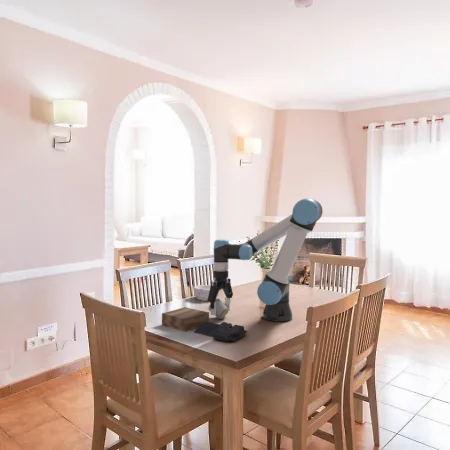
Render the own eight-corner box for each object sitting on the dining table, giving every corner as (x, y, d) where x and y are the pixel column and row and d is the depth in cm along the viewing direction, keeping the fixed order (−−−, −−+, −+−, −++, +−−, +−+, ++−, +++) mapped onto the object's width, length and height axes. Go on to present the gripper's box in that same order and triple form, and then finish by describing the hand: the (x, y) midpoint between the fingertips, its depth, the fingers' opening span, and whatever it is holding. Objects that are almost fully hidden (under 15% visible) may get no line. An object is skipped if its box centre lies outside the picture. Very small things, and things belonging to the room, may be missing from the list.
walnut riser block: (209, 324, 204) (209, 312, 203) (186, 332, 191) (186, 319, 191) (185, 318, 214) (185, 307, 213) (161, 325, 201) (161, 313, 201)
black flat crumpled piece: (210, 325, 203) (210, 315, 202) (250, 333, 190) (250, 323, 190) (190, 333, 190) (191, 323, 190) (231, 342, 178) (232, 331, 177)
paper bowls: (223, 300, 254) (224, 287, 254) (204, 304, 244) (204, 290, 244) (207, 296, 266) (207, 283, 265) (188, 299, 256) (188, 286, 255)
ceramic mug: (218, 322, 211) (221, 313, 207) (206, 312, 215) (209, 302, 210) (232, 311, 218) (235, 302, 214) (220, 302, 222) (223, 292, 217)
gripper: (228, 266, 226) (228, 307, 227) (200, 272, 206) (200, 316, 208) (240, 268, 221) (239, 309, 222) (212, 273, 202) (212, 318, 203)
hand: (220, 312), depth 215 cm, fingers closed on ceramic mug, 11 cm apart
